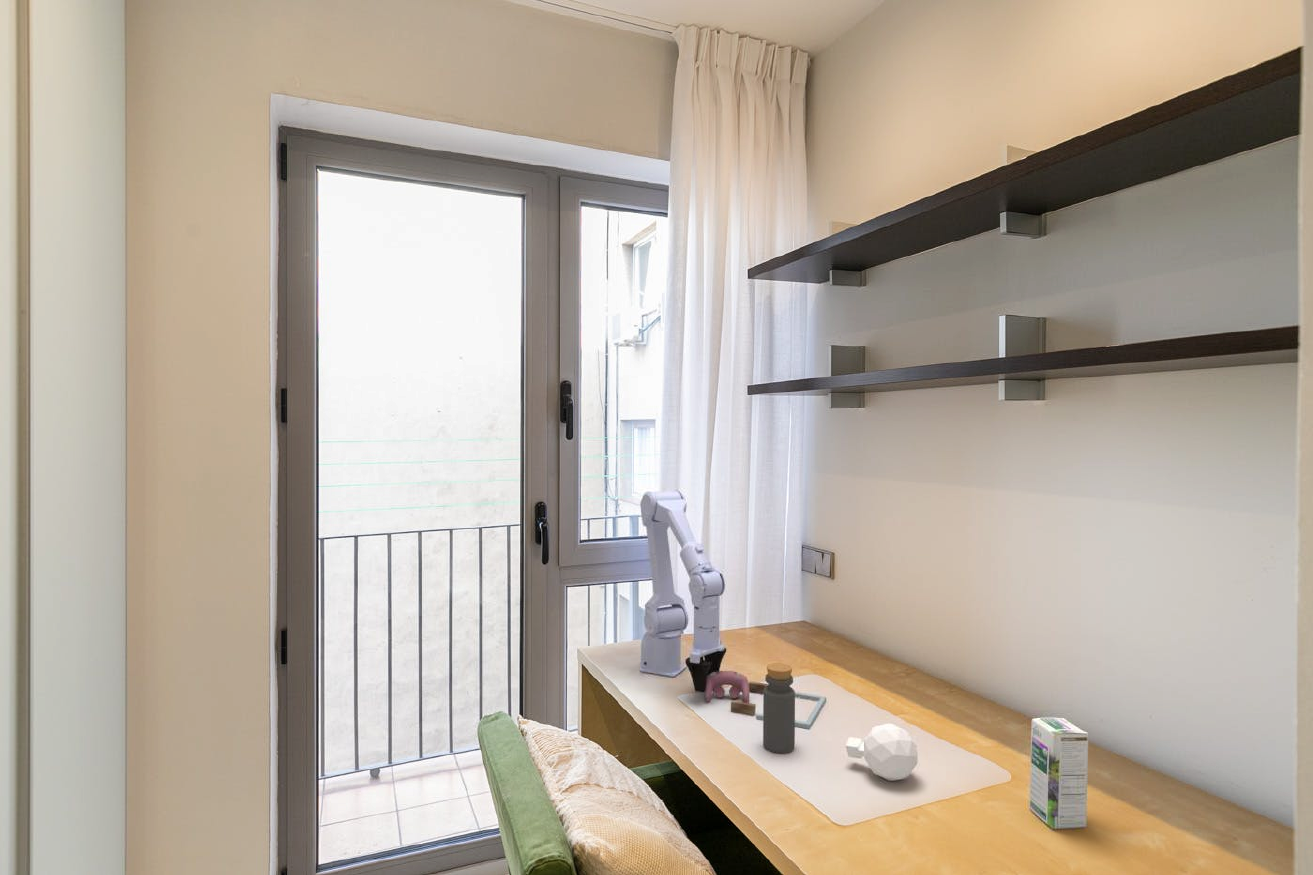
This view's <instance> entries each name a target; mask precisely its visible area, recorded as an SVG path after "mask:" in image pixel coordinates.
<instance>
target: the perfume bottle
mask: <svg viewBox="0 0 1313 875" xmlns="http://www.w3.org/2000/svg"><path fill="white" fill-rule="evenodd" d="M845 749H846V753H847V757H849V758H854V759H855V758H856V759H862V757H863V759H864V760H865V762H866V763H867V764H868V767H869V768H870V769H871V771H872V773H873V774H875V775H876V776H879V777H881V778H883V779H886V780H888V781H890V782H893V781H898V780H903V779H907V778H908V777H909V776H910V775H911V773H912V771H913V770H914V769H915V768H916V766H917V765H918V746H917V744H916V742H915V741H914V739H913V738H912V737H911V736H910V734H909V732H908V730H906V729H903V728H901V727H900V726H897V725H895V724H892V723H891V722H890V723H885V724H881V725H875V726H873V727H872V729H871V730H870V731H869V733H867V735H866V736H865V737H864V739H862V738H857V737H851V736H849V737H848V739H847V741H846V744H845Z"/></svg>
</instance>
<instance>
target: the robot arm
mask: <svg viewBox="0 0 1313 875" xmlns="http://www.w3.org/2000/svg"><path fill="white" fill-rule="evenodd" d="M639 503H640V514H641V520H642V521H641V522H642V526H644V527H645V528H646V537H647V544H648V554H649V561H650V563H649V564H650V571H651V580H652V588H653V590H652V591H653V595H652V597H651V598H649V599H648V600H647V601H646V603H645V604H644V616H643V618H644V619H643V623H644V627H645V630H646V631H645V633H644V634H643V636H642V638H641V641H640V642H641V644H640V668H639V672H641V673H647V674H654V675H660V676H665V677H671V678H674V677H676V676H678V675H679V674H680V673H681V672H683V671H684V670H685V669H688V671H689V673H690V675H691V676H690V677H691V679H692V684H693V687H694V688H693V689H694V691H695V692H698V693H704V694H705V689H706V682H707V676H708V675H710V674H711V673H713V672H718V671H721V670H720V669H721V664H722V662H723V660H724V656H725V654H726V652H727V647H725V645H722V642H723V641H722V640H723V638H722V636H720V596H722V595H723V594H724V592H725V590H726V589H725V588H726V582H725V578H724V576H723V573H722V572H721V570H719V569H717V567H716V566H714V565H712V563H711V561H710V559H709V556H708V554H707V553H706V551H705V548H704V546H703V545H702V544H701V543H700V542H696V540H695V537H694V535H693V531H692V529H691V526H690V523H689V521H688V518H687V515H686V512H687V501H686V497H685V495H684V492H682V491H681V490H679V489H677V490H664V491H646V492H645V493H643V495H642V498H641V500H640V502H639ZM669 528H670V530H671V532H672V534H673V535H674V536H675V539H676V541H677V542H678V544H679V546H680V547H681V550H680V552H679V557H680V559H681V562H682V564H683V566H684V568H685V570H686V572H687V575H688V577H689V582H688V589H689V593H690V596H691V604H692V605H693V643H692V648H691V652H690V654H689V656H688V657H687V658H685V664H683V663H682V662H681V661H682V660H681V658H682V652H681V651H682V647H681V646H682V643H681V642H682V640H681V639H682V635H683V634H684V631H685V630H686V629H687V627H688V624H689V615H688V611H687V609H686V606H685V600H684V599H683V598H682V597H681V596H680V595H678V594H677V593H676V592H675V585H674V576H673V568H672V561H671V560H672V559H671V553H670V542H669V537H668V534H669V533H668V529H669ZM662 606H663V607H662Z"/></svg>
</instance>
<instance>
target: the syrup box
mask: <svg viewBox="0 0 1313 875" xmlns="http://www.w3.org/2000/svg"><path fill="white" fill-rule="evenodd" d="M1030 729H1031V732H1030V735H1031V736H1030V777H1029V778H1030V780H1029V810H1030V811H1031V813H1032V812H1033V813H1034V814H1035V816H1037V817H1038V818H1039V819H1040V820H1042V821H1043V823H1045V824H1046V825H1047V826H1048V827H1049V828H1050V829H1051V830H1060V829H1062V830H1063V829H1077V828H1079V829H1080V828H1087V809H1088V808H1087V807H1088V805H1087V804H1088V771H1089V769H1088V765H1089V763H1088V761H1089V756H1088V755H1089V732H1087V731H1084V730H1082V729H1081V728H1079V727H1078V726H1077V725H1074V724H1073V723H1072V722H1070V721H1068V720H1067V719H1066V718H1063V717H1048V716H1047V717H1038V718H1032V719H1031V728H1030Z"/></svg>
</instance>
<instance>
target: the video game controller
mask: <svg viewBox="0 0 1313 875" xmlns="http://www.w3.org/2000/svg"><path fill="white" fill-rule="evenodd" d="M725 685H727V686H730V688H729V690H728V694H729V697H730V698H732V699H733V700H734V699H737V698H739V696H740V694H742V698H743V702H746V703H750V692H749V680H748V678H747V677H746V676H745V675H744V674H742V673H740V672H738V671H734V670H719V671H718V672H713V673H711V674H710V675H708V676H707V682H706V689H705V692H704V700H705V702H706V703H710V702H711V699H712V694H713V693H714V695H715V697H716V698H719V699H721V697H722V698H723V697H724V696H725V694H726V692H725V691H726V690H725V688H724V687H723V686H725Z"/></svg>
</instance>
